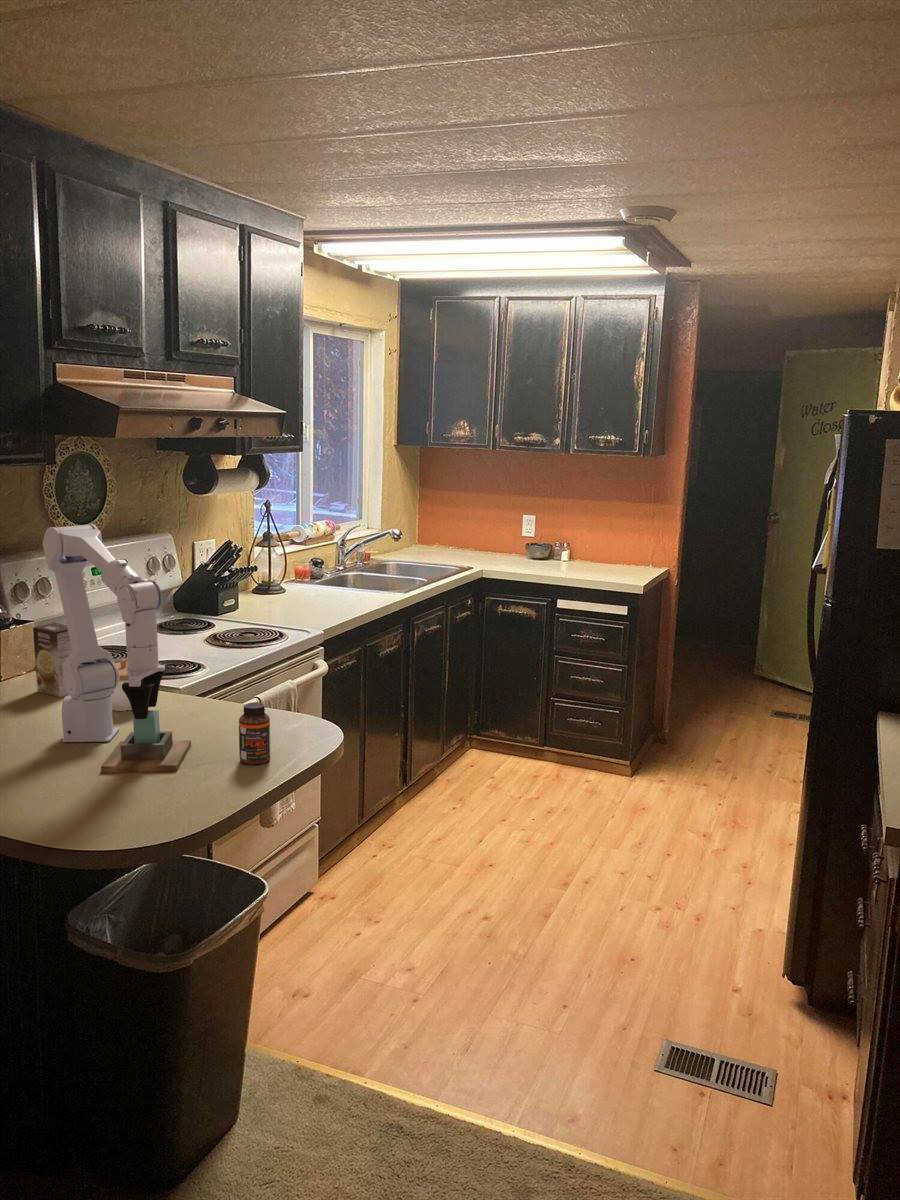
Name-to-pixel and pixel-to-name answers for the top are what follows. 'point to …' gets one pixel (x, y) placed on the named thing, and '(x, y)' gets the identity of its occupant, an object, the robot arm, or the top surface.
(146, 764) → the end holder
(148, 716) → the block
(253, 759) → the supplement bottle
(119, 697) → the lidded bowl
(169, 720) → the top surface
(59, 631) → the coffee box
